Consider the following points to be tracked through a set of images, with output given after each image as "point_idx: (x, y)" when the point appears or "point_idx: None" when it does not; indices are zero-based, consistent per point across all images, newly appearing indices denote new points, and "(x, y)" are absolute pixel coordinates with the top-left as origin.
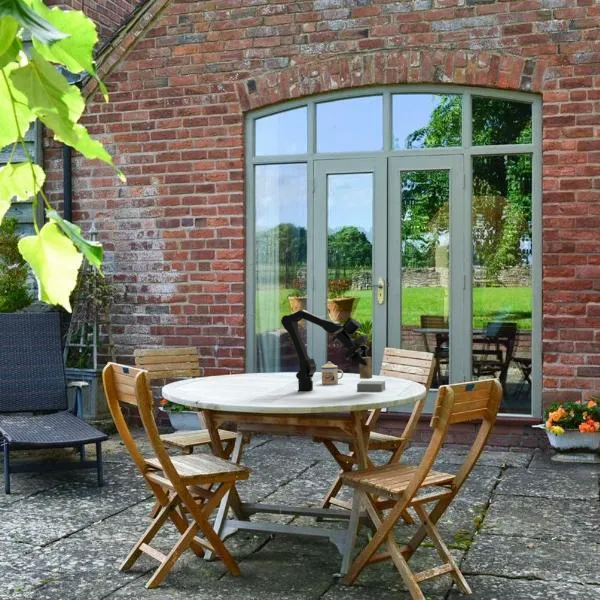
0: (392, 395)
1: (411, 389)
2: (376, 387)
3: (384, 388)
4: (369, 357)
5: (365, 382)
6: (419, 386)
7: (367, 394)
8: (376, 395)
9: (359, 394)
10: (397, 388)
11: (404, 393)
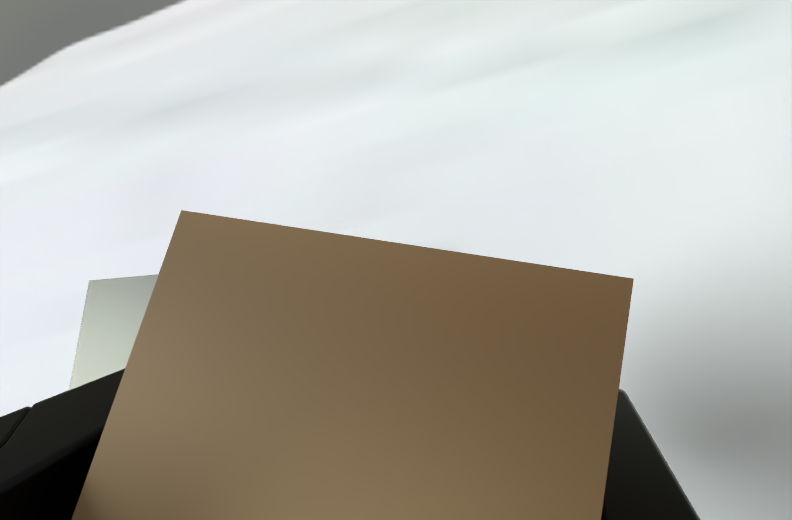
0: (737, 80)
1: (247, 55)
2: None
3: None
4: (372, 256)
5: None
6: (74, 56)
7: (694, 394)
8: (781, 255)
9: (716, 513)
10: (167, 186)
11: (540, 22)
